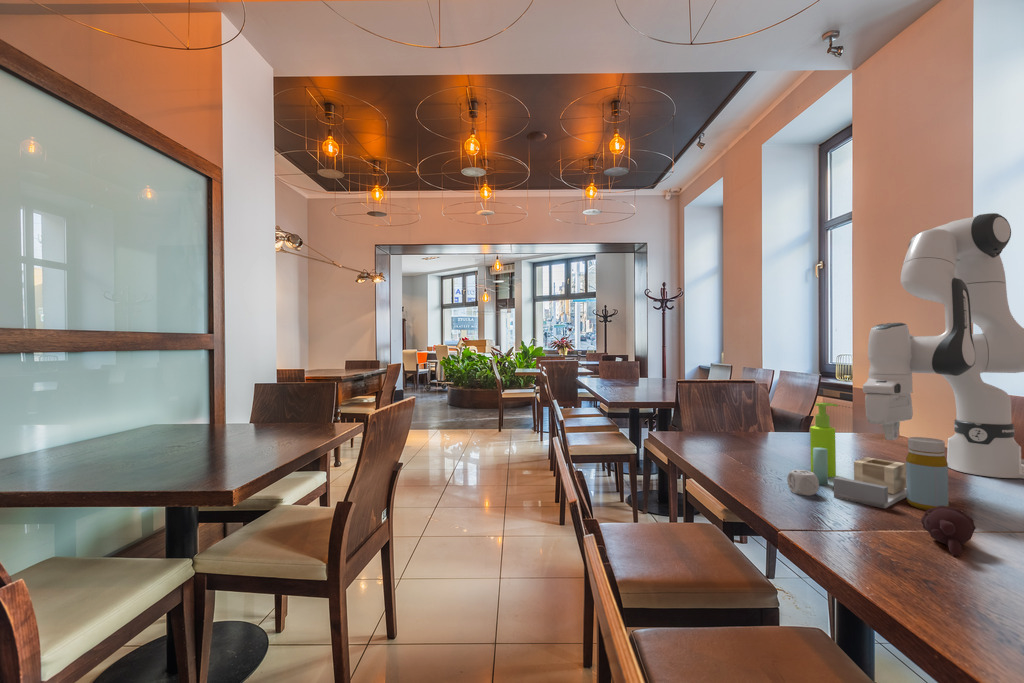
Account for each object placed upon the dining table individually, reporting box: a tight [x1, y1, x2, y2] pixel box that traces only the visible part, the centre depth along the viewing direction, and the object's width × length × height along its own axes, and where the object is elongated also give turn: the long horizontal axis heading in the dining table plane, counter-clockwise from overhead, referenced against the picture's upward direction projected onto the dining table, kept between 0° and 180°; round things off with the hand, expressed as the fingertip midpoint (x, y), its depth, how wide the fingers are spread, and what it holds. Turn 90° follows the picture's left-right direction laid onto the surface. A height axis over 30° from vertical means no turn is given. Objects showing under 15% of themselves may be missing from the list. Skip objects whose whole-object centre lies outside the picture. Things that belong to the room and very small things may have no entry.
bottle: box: [905, 436, 949, 511], centre depth 106 cm, size 7×7×15 cm
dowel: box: [813, 448, 829, 486], centre depth 124 cm, size 3×3×9 cm
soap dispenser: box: [809, 402, 839, 478], centre depth 132 cm, size 6×7×20 cm
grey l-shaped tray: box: [833, 476, 907, 509], centre depth 114 cm, size 18×10×4 cm, turn 124°
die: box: [786, 469, 820, 496], centre depth 117 cm, size 5×5×5 cm
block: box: [853, 456, 907, 494], centre depth 116 cm, size 8×8×6 cm
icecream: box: [920, 506, 976, 557], centre depth 87 cm, size 7×7×15 cm
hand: (891, 439), depth 121 cm, fingers closed
